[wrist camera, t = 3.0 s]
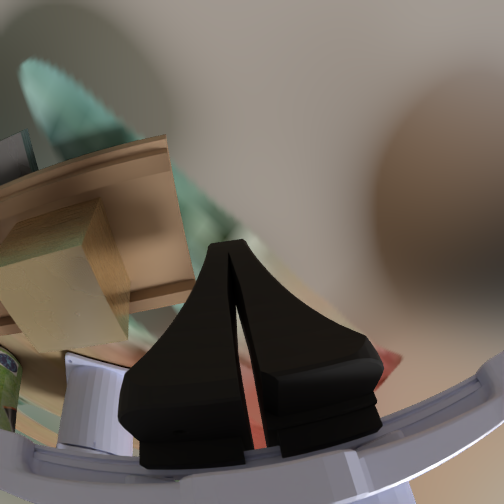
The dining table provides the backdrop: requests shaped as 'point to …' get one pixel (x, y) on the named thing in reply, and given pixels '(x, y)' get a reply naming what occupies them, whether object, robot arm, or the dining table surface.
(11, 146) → the pivot stand
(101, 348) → the dining table surface
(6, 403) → the beverage can
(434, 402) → the robot arm
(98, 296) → the brass block
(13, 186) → the beam
